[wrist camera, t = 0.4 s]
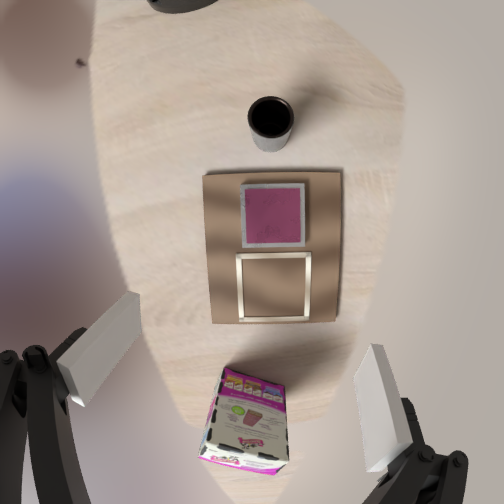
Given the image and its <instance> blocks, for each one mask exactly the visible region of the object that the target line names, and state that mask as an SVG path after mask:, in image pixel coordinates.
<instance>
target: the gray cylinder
mask: <svg viewBox="0 0 504 504" xmlns="http://www.w3.org/2000/svg"><path fill="white" fill-rule="evenodd" d="M248 123H249V127H250V130H251V133H252V137H253V140H254V142H255V144H256V146H257V147H258V148H259V149H261V150H263V151H265V152H276V151H278V150H280V149H281V148H283V147H284V145H285V144H286V142H287V139H288V137H289V134H290V132H291V129H292V127H293V124H294V112H293V110H292V108H291V106H290V105H289V104H288V103H287V102H286V101H285V100H283V99H281V98H278V97H274V96H267V97H263V98H260V99H258V100H257V101H255V102H254V103H253V104H252V105H251V107H250V109H249V111H248Z"/></svg>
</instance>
